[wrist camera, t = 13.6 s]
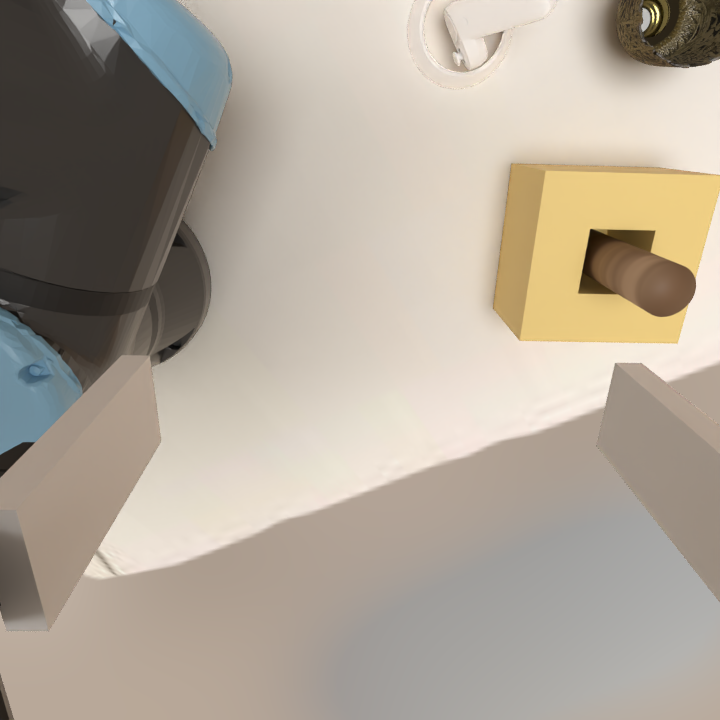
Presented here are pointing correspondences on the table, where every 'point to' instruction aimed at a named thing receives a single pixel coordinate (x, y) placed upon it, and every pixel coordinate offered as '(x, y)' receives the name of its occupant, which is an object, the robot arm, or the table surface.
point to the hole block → (569, 242)
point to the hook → (471, 36)
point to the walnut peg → (638, 275)
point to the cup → (671, 31)
